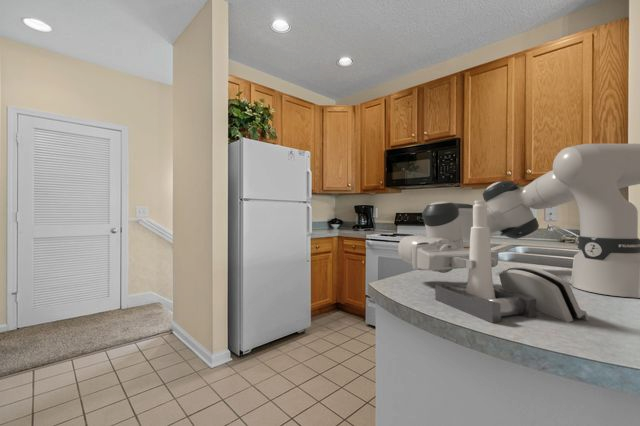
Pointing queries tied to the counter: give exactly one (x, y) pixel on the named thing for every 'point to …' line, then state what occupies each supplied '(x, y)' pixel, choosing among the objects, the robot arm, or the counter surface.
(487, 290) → the cosmetic bottle
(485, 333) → the counter surface
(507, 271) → the grey curved wedge
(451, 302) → the grey hollow rectangular frame
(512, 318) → the counter surface
